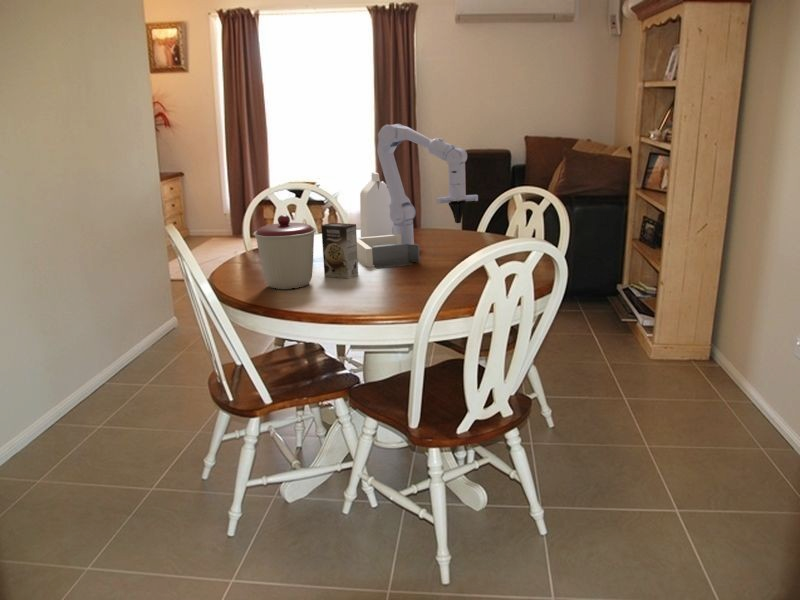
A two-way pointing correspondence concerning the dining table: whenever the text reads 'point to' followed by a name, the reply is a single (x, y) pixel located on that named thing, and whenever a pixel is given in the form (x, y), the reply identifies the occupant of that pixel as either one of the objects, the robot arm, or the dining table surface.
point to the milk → (375, 208)
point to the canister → (286, 253)
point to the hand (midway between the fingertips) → (457, 222)
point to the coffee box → (340, 250)
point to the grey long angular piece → (395, 255)
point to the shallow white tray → (367, 242)
